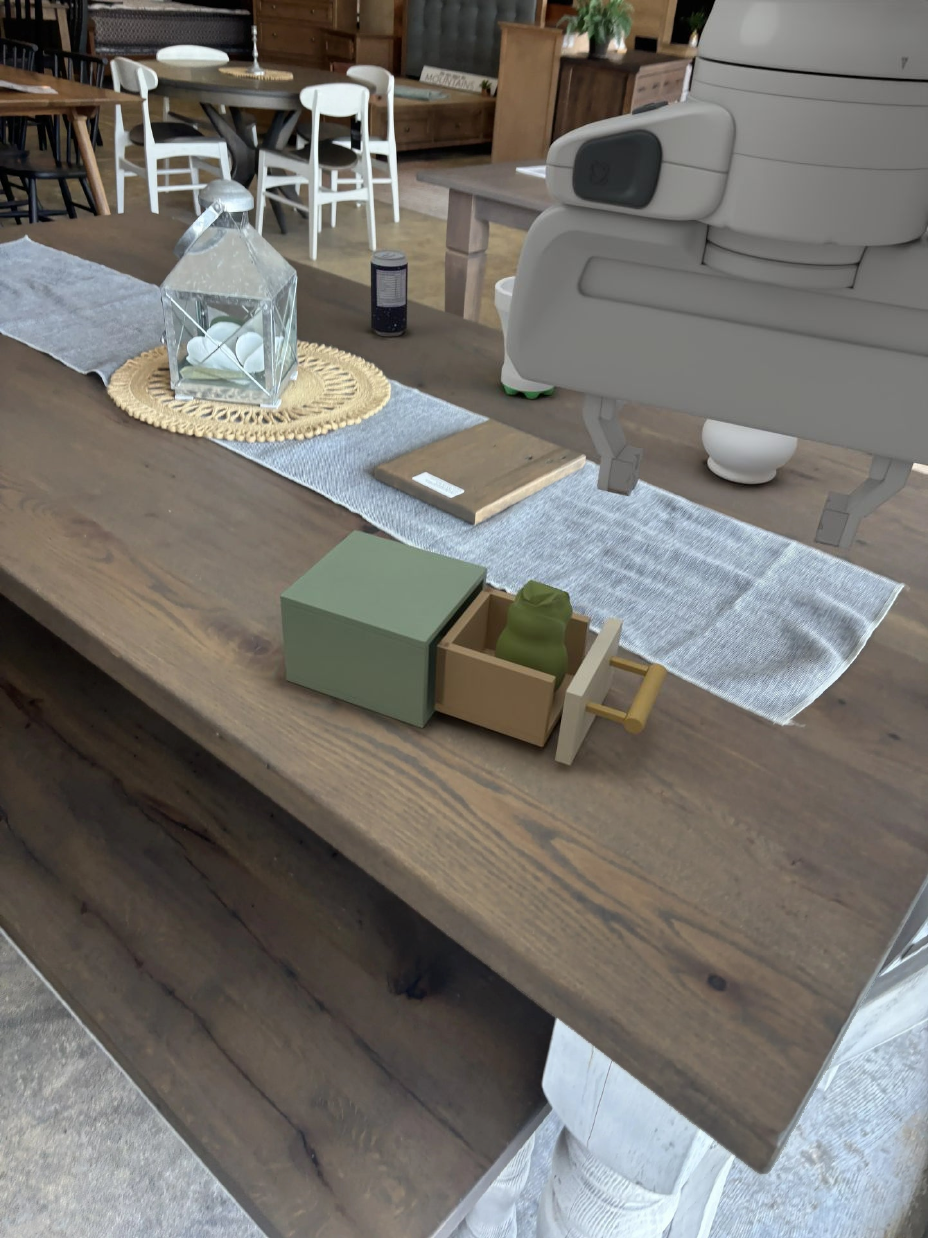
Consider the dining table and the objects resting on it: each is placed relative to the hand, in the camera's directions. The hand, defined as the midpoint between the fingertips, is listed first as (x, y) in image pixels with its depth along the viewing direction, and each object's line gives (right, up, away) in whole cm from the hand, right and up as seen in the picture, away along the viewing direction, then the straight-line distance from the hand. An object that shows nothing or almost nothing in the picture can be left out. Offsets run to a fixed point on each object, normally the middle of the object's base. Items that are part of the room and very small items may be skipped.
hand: (720, 513), depth 40 cm
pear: (-6, -11, +32) cm, 34 cm away
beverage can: (-23, +41, +105) cm, 116 cm away
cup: (-2, +28, +89) cm, 93 cm away
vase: (+22, +13, +71) cm, 75 cm away
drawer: (-5, -12, +32) cm, 34 cm away
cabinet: (-18, -8, +37) cm, 42 cm away
